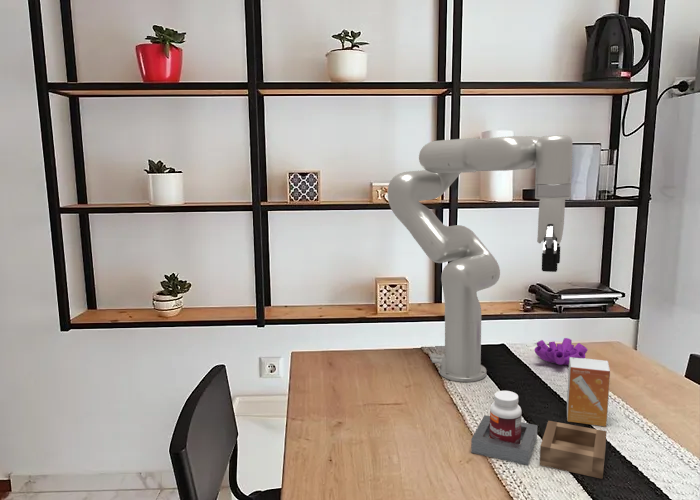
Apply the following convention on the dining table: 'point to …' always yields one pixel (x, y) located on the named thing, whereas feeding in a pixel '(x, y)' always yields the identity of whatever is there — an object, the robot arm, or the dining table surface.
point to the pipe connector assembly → (560, 351)
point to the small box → (588, 391)
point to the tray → (573, 449)
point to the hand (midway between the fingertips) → (551, 267)
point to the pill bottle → (505, 417)
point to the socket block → (504, 443)
